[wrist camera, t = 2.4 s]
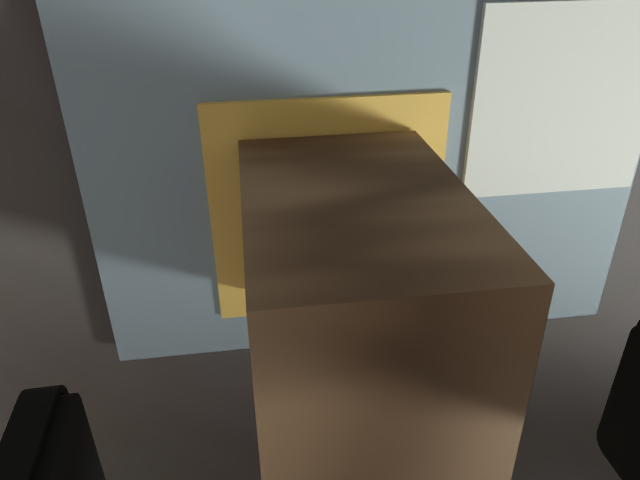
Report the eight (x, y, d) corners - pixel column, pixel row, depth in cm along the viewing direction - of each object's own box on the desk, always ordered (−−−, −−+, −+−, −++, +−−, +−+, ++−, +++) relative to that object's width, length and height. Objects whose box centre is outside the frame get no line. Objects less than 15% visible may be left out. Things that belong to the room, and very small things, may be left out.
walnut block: (415, 130, 16) (555, 283, 9) (404, 278, 19) (509, 488, 12) (238, 140, 16) (245, 312, 9) (251, 291, 18) (265, 520, 11)
